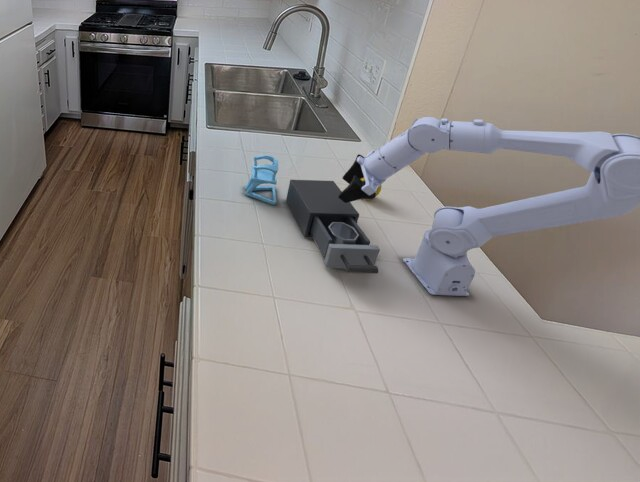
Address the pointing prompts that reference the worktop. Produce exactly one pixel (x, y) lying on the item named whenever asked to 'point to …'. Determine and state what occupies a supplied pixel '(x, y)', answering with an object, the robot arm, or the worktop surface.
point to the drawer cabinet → (316, 202)
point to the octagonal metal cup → (342, 233)
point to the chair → (263, 178)
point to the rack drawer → (344, 246)
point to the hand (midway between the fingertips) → (344, 189)
